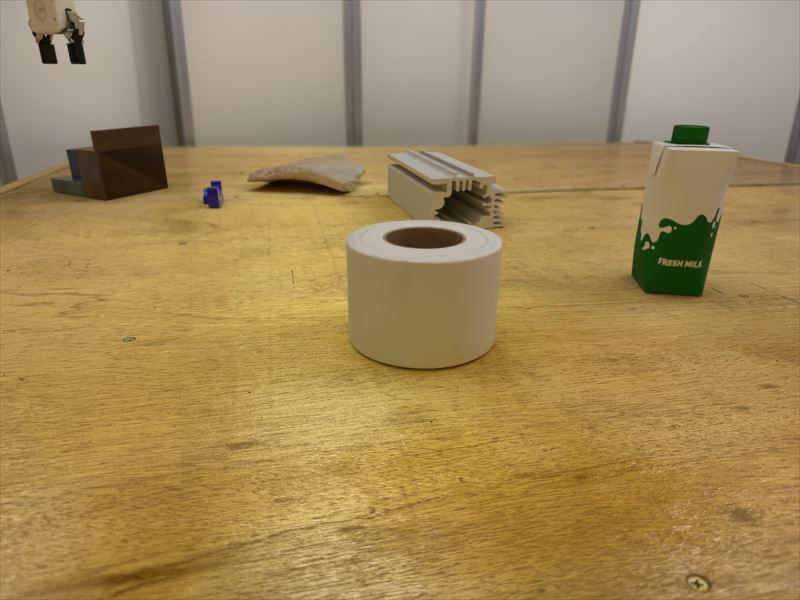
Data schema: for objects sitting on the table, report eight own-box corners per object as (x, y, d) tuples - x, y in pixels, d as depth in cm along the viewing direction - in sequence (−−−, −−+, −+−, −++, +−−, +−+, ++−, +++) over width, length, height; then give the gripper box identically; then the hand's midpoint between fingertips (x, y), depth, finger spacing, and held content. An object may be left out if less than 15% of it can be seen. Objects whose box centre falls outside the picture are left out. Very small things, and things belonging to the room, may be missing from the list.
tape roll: (349, 306, 65) (347, 217, 61) (478, 304, 66) (484, 216, 62) (347, 372, 51) (344, 262, 47) (510, 368, 52) (522, 260, 48)
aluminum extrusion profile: (447, 192, 126) (449, 147, 122) (505, 227, 99) (510, 170, 95) (387, 195, 123) (387, 149, 119) (430, 232, 96) (432, 174, 92)
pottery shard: (281, 178, 144) (243, 185, 125) (281, 149, 141) (243, 152, 123) (370, 187, 139) (344, 196, 120) (372, 157, 137) (346, 161, 118)
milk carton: (687, 275, 77) (722, 125, 69) (712, 299, 68) (755, 132, 61) (622, 271, 78) (649, 123, 70) (639, 295, 69) (671, 130, 62)
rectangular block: (71, 177, 123) (65, 149, 121) (111, 170, 131) (106, 144, 129) (81, 178, 121) (75, 150, 119) (121, 171, 130) (116, 145, 127)
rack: (53, 191, 123) (38, 126, 117) (116, 180, 136) (105, 120, 130) (106, 200, 115) (92, 131, 110) (168, 187, 128) (158, 124, 123)
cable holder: (206, 199, 117) (204, 180, 115) (223, 199, 118) (221, 180, 116) (201, 208, 110) (198, 188, 108) (219, 207, 110) (217, 187, 109)
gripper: (1, -28, 113) (22, 63, 119) (53, -33, 105) (73, 64, 112) (38, -23, 119) (56, 64, 125) (89, -28, 111) (106, 64, 118)
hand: (64, 64), depth 119 cm, fingers open, 9 cm apart
